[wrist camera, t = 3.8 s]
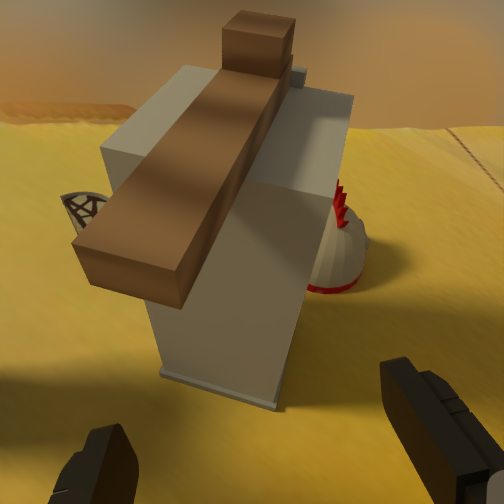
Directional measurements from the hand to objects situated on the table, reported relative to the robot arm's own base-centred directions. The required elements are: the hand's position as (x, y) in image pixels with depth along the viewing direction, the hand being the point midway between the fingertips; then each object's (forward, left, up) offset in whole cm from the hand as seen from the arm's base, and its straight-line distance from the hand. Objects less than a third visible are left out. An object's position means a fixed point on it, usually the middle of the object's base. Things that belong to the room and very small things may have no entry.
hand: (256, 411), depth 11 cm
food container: (-1, +40, -34) cm, 53 cm away
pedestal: (+9, +17, -34) cm, 39 cm away
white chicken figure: (+29, +24, -34) cm, 51 cm away
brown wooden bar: (+5, +14, -1) cm, 15 cm away
